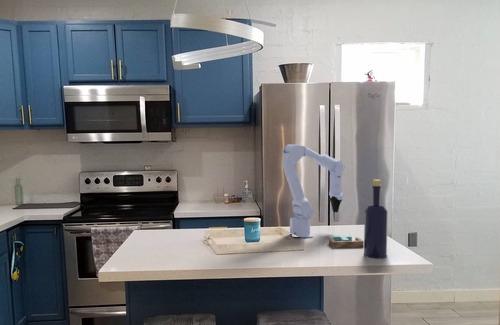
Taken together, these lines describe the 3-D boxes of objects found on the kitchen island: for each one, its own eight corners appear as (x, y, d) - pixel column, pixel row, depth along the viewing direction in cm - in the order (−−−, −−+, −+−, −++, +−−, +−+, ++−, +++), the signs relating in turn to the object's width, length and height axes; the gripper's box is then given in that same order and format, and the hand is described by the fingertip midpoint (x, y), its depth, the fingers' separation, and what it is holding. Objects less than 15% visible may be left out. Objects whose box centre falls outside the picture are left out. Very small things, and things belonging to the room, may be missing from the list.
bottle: (384, 251, 151) (385, 178, 149) (390, 258, 142) (392, 181, 140) (361, 251, 152) (362, 178, 150) (365, 258, 143) (367, 181, 141)
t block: (336, 246, 158) (336, 240, 158) (332, 242, 166) (332, 235, 166) (355, 246, 159) (355, 239, 158) (350, 241, 166) (350, 235, 166)
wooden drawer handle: (333, 247, 157) (333, 242, 156) (328, 243, 163) (328, 238, 163) (363, 247, 158) (363, 241, 158) (357, 243, 164) (358, 237, 164)
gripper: (348, 186, 176) (348, 214, 177) (338, 183, 191) (338, 209, 191) (334, 186, 176) (334, 215, 176) (325, 183, 190) (325, 209, 191)
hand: (335, 212), depth 184 cm, fingers closed
